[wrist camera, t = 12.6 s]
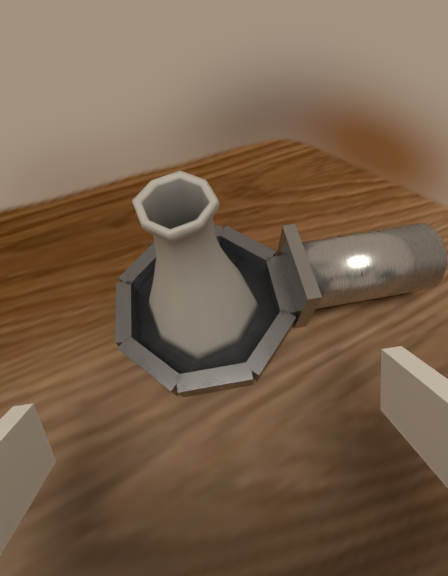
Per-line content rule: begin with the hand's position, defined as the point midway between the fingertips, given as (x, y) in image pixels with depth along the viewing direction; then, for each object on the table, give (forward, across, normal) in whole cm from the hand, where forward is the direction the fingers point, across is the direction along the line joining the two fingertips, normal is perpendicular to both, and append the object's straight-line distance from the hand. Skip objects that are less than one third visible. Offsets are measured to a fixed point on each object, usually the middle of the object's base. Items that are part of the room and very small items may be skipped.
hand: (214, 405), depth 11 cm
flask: (+10, 0, 0) cm, 10 cm away
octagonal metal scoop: (+10, +4, 0) cm, 11 cm away
